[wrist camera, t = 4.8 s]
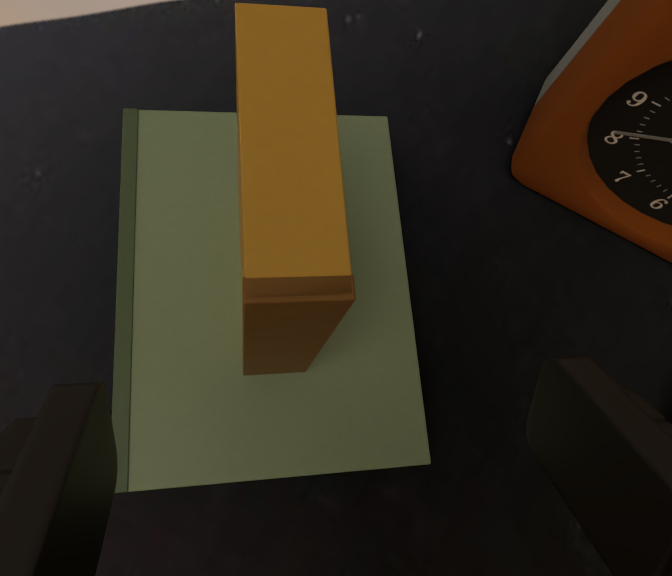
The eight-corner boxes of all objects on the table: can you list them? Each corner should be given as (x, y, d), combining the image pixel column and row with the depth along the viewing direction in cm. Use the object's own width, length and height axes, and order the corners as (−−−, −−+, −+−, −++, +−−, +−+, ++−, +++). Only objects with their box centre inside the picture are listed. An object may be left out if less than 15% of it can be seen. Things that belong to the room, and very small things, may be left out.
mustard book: (243, 376, 27) (243, 304, 15) (237, 190, 30) (233, 1, 18) (305, 372, 27) (356, 300, 15) (293, 190, 30) (328, 7, 18)
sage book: (123, 490, 27) (108, 493, 24) (133, 139, 33) (123, 107, 30) (413, 463, 30) (432, 464, 27) (376, 143, 36) (387, 115, 33)
